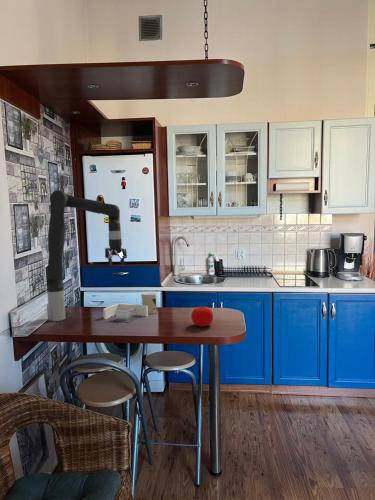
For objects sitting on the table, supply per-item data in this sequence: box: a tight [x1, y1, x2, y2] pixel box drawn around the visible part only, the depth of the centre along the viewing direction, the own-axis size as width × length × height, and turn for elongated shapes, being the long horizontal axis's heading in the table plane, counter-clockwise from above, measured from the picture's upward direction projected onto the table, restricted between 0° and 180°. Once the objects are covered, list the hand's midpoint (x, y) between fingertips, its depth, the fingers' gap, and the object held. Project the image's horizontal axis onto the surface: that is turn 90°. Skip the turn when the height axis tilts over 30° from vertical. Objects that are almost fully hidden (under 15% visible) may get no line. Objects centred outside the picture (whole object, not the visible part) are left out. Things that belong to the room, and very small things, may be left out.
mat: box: [113, 315, 140, 324], centre depth 217 cm, size 10×12×1 cm
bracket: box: [115, 307, 137, 320], centre depth 218 cm, size 10×7×5 cm
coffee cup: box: [140, 291, 157, 315], centre depth 229 cm, size 9×9×12 cm
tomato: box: [190, 305, 214, 328], centre depth 200 cm, size 12×12×10 cm
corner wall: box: [102, 302, 149, 320], centre depth 220 cm, size 21×15×6 cm
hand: (116, 265), depth 225 cm, fingers open, 8 cm apart
